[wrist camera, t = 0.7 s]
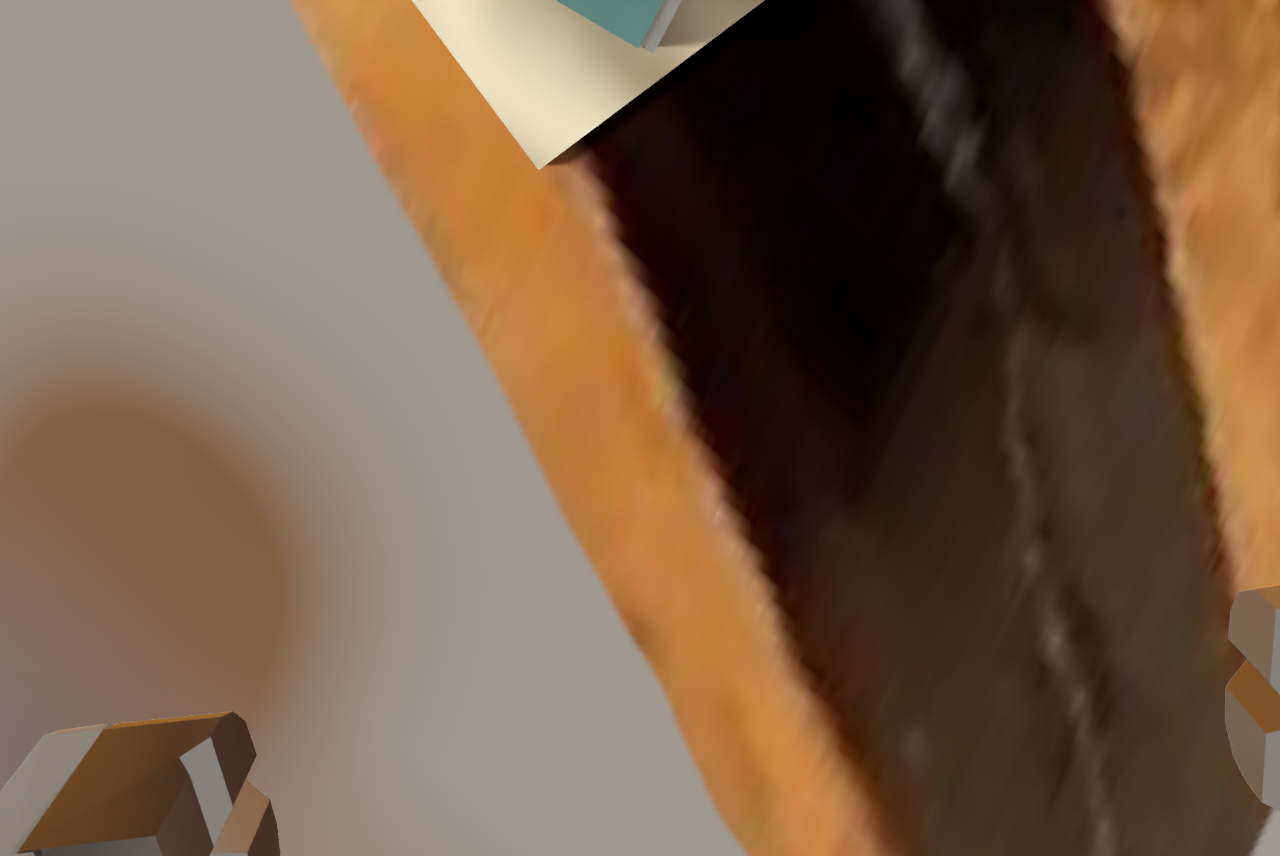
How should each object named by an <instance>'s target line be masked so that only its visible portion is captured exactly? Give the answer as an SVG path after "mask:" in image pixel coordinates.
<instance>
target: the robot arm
mask: <svg viewBox="0 0 1280 856" xmlns="http://www.w3.org/2000/svg"><path fill="white" fill-rule="evenodd" d="M1228 639H1229V640H1230V641H1231V642H1232V643H1233V645H1234V646H1235V647H1236V648H1237V649H1238V650H1239V652H1240V653H1241V654H1242V655H1243V656H1244V658H1245V659H1246V661H1245V662H1244V664H1243V665H1242V666H1241V668H1240V669H1239V670H1238V671H1237V673H1236V674H1235V675H1234V676H1233V678H1232V679H1231V680H1230V682H1229V683H1228V684H1227V685H1226V701H1225V724H1226V728H1227V732H1228V736H1229V740H1230V744H1231V749H1232V753H1233V756H1234V759H1235V761H1236V763H1237V765H1238V767H1239V769H1240V771H1241V773H1242V775H1243V777H1244V779H1245V781H1246V782H1247V783H1248V785H1249V786H1250V787H1251V789H1252V790H1253V791H1254V792H1255V794H1256V795H1257V796H1258V798H1259V799H1260V800H1261V802H1262V803H1265V804H1267V805H1269V806H1271V807H1273V808H1275V809H1277V810H1279V811H1280V586H1275V587H1268V588H1261V589H1254V590H1248V591H1242V592H1238V593H1237V596H1236V598H1235V601H1234V603H1233V606H1232V608H1231V611H1230V625H1229V638H1228ZM255 758H256V752H255V749H254V746H253V743H252V740H251V737H250V734H249V731H248V728H247V725H246V722H245V721H244V720H243V719H242V718H240V717H239V716H238V715H237V714H235V713H234V712H223V713H213V714H203V715H193V716H183V717H173V718H163V719H154V720H143V721H134V722H124V723H118V724H115V725H113V724H110V723H107V724H100V725H93V726H86V727H79V728H72V729H64V730H59V731H56V732H53V733H50V734H47V735H44V736H43V737H42V738H41V740H40V741H39V743H38V744H37V745H36V746H35V747H34V749H33V750H32V751H31V753H30V754H29V755H28V756H27V758H26V759H25V760H24V761H23V763H22V764H21V765H20V767H19V768H18V769H17V770H16V772H15V773H14V774H13V775H12V777H11V778H10V779H9V781H8V782H7V783H6V784H5V786H4V787H3V788H2V790H1V791H0V856H280V848H279V839H278V831H277V823H276V820H275V816H274V812H273V809H272V805H271V802H270V799H269V798H267V797H266V796H265V795H264V794H262V793H261V792H260V791H259V790H257V789H256V788H255V787H254V786H253V785H251V784H250V783H249V782H248V781H246V780H245V779H246V777H247V775H248V773H249V771H250V768H251V766H252V764H253V762H254V759H255Z"/></svg>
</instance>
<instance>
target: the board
mask: <svg viewBox="0 0 1280 856" xmlns="http://www.w3.org/2000/svg"><path fill="white" fill-rule="evenodd" d="M412 1H413V3H414V4H415V5H416V7H417V8H418V9H419V11H420V12H421V13H422V15H423V16H424V17H425V19H426V20H427V21H428V23H429V24H430V25H431V27H432V28H433V29H434V31H435V32H436V33H437V35H438V36H439V37H440V39H441V40H442V41H443V43H444V44H445V45H446V47H447V48H448V49H449V51H450V52H451V53H452V55H453V56H454V57H455V59H456V60H457V61H458V63H459V64H460V65H461V67H462V68H463V69H464V71H465V72H466V73H467V75H468V76H469V77H470V79H471V80H472V81H473V83H474V84H475V86H476V87H477V88H478V90H479V91H480V92H481V94H482V95H483V96H484V98H485V99H486V100H487V102H488V103H489V104H490V106H491V107H492V108H493V110H494V111H495V112H496V114H497V115H498V116H499V118H500V119H501V120H502V122H503V123H504V124H505V126H506V127H507V128H508V130H509V131H510V132H511V134H512V135H513V136H514V138H515V139H516V140H517V142H518V143H519V144H520V146H521V147H522V148H523V150H524V151H525V152H526V154H527V155H528V156H529V158H530V159H531V160H532V162H533V163H534V164H535V166H536V167H537V168H538V170H540V169H541V168H542V167H544V166H545V165H546V164H548V163H549V162H550V161H552V160H553V159H554V158H556V157H557V156H558V155H560V154H561V153H562V152H564V151H565V150H566V149H567V148H569V147H570V146H571V145H573V144H574V143H575V142H577V141H578V140H579V139H581V138H582V137H583V136H585V135H586V134H587V133H589V132H590V131H591V130H593V129H594V128H595V127H597V126H598V125H599V124H601V123H602V122H603V121H605V120H606V119H607V118H609V117H610V116H611V115H613V114H614V113H615V112H617V111H618V110H619V109H621V108H622V107H623V106H625V105H626V104H627V103H629V102H630V101H631V100H633V99H634V98H635V97H637V96H638V95H639V94H641V93H642V92H643V91H645V90H646V89H647V88H649V87H650V86H651V85H653V84H654V83H655V82H657V81H658V80H659V79H661V78H662V77H663V76H665V75H666V74H667V73H669V72H670V71H671V70H673V69H674V68H675V67H677V66H678V65H679V64H681V63H682V62H683V61H685V60H686V59H687V58H689V57H690V56H691V55H693V54H694V53H695V52H697V51H698V50H699V49H701V48H702V47H703V46H705V45H706V44H707V43H709V42H710V41H711V40H713V39H714V38H715V37H717V36H718V35H719V34H720V33H722V32H723V31H724V30H726V29H727V28H728V27H730V26H731V25H732V24H734V23H735V22H736V21H738V20H739V19H740V18H742V17H743V16H744V15H746V14H747V13H748V12H750V11H751V10H752V9H754V8H755V7H756V6H758V5H759V4H760V3H762V2H763V1H764V0H682V1H681V3H680V5H679V7H678V9H677V11H676V12H675V14H674V16H673V18H672V20H671V22H670V24H669V26H668V27H667V29H666V31H665V33H664V35H663V37H662V39H661V41H660V42H659V44H658V46H657V48H656V50H655V52H654V54H653V53H651V52H649V51H647V50H646V49H644V48H642V47H641V46H639V48H637V47H635V46H633V45H631V44H630V43H628V42H626V41H625V40H623V39H621V38H619V37H618V36H616V35H614V34H613V33H611V32H609V31H607V30H606V29H604V28H602V27H601V26H599V25H597V24H595V23H594V22H592V21H590V20H589V19H587V18H585V17H583V16H582V15H580V14H578V13H577V12H575V11H573V10H571V9H570V8H568V7H566V6H565V5H563V4H561V3H559V2H558V1H556V0H412Z"/></svg>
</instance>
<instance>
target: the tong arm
mask: <svg viewBox="0 0 1280 856" xmlns="http://www.w3.org/2000/svg"><path fill="white" fill-rule="evenodd" d="M556 1H558V2H559V3H561V4H563V5H565V6H566V7H568V8H570V9H571V10H573V11H575V12H577V13H578V14H580V15H582V16H583V17H585V18H587V19H589V20H590V21H592V22H594V23H595V24H597V25H599V26H601V27H602V28H604V29H606V30H607V31H609V32H611V33H613V34H614V35H616V36H618V37H619V38H621V39H623V40H625V41H626V42H628V43H630V44H631V45H633V46H635V47H637V48H639V46H641V47H642V48H644V49H646V50H647V51H649V52H651V53H653V54H654V52H655V50H656V48H657V46H658V44H659V42H660V41H661V39H662V37H663V35H664V33H665V31H666V29H667V27H668V26H669V24H670V22H671V20H672V18H673V16H674V14H675V12H676V11H677V9H678V7H679V5H680V3H681V1H682V0H556Z"/></svg>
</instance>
